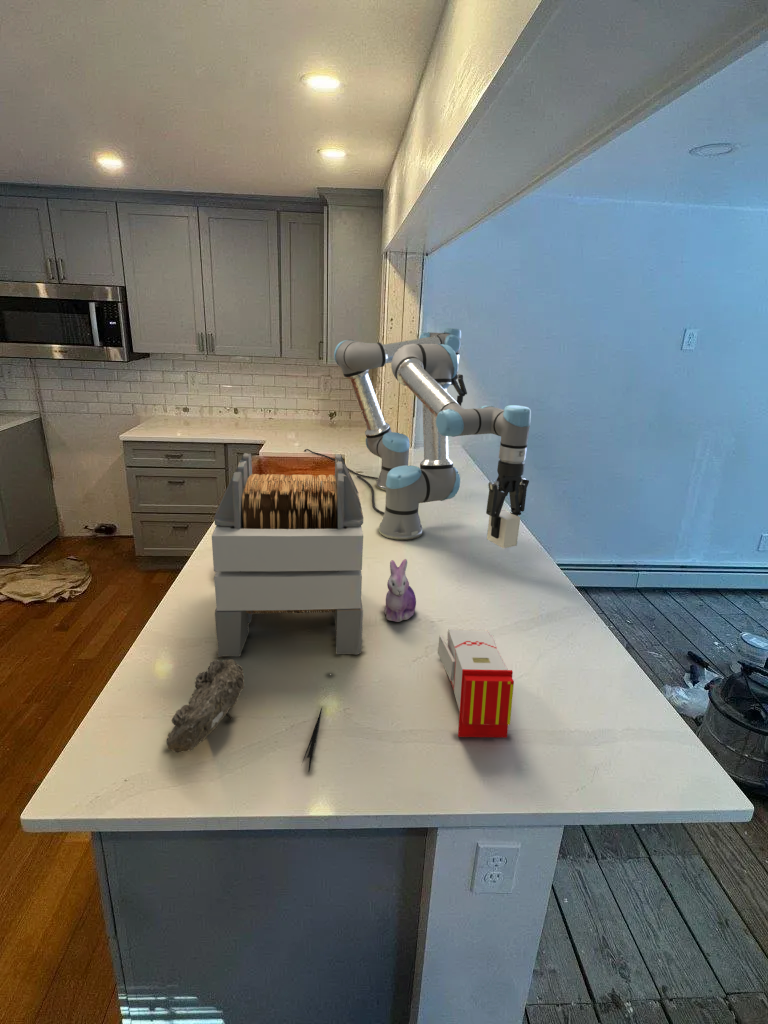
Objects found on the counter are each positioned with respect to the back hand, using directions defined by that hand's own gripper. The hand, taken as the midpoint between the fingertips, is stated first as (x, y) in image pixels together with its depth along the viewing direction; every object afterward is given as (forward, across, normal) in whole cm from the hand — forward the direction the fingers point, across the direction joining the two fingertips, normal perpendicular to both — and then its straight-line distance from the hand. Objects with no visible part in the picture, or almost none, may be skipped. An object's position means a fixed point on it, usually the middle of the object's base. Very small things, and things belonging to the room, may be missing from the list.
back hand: (446, 410), depth 266 cm
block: (+21, -46, -98) cm, 110 cm away
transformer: (+31, -112, -99) cm, 153 cm away
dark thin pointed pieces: (+31, -121, -136) cm, 185 cm away
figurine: (+31, -87, -108) cm, 142 cm away
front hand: (+19, -46, -98) cm, 110 cm away
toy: (+31, -89, -142) cm, 171 cm away
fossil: (+31, -139, -127) cm, 191 cm away
